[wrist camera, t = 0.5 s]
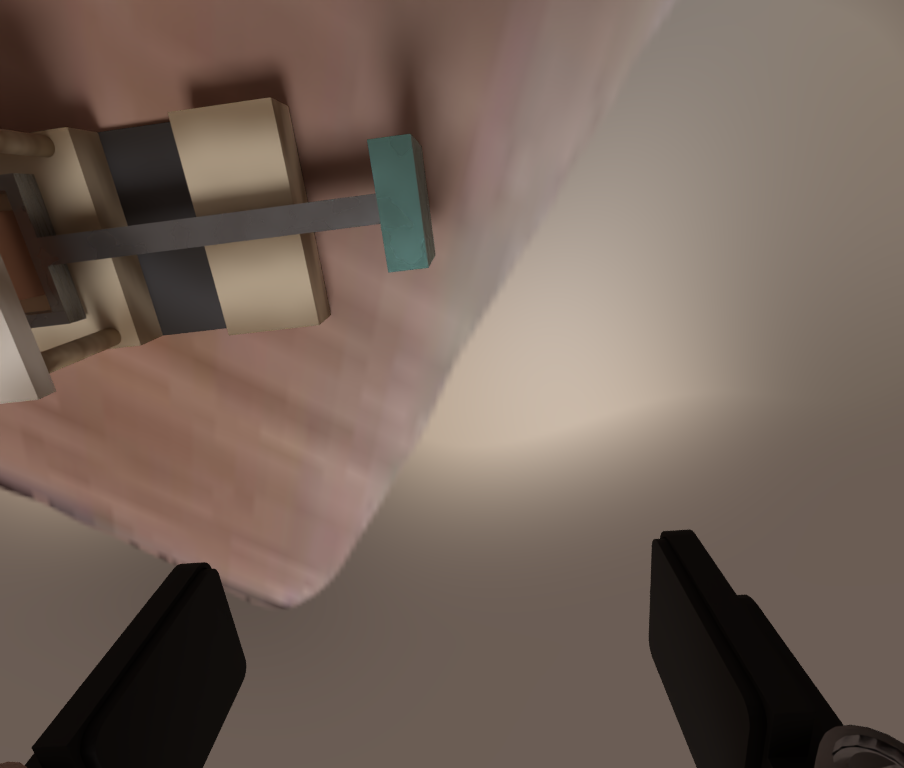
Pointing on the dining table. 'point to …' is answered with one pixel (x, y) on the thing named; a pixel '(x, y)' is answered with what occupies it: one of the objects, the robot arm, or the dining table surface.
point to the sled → (232, 226)
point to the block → (18, 258)
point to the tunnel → (156, 200)
